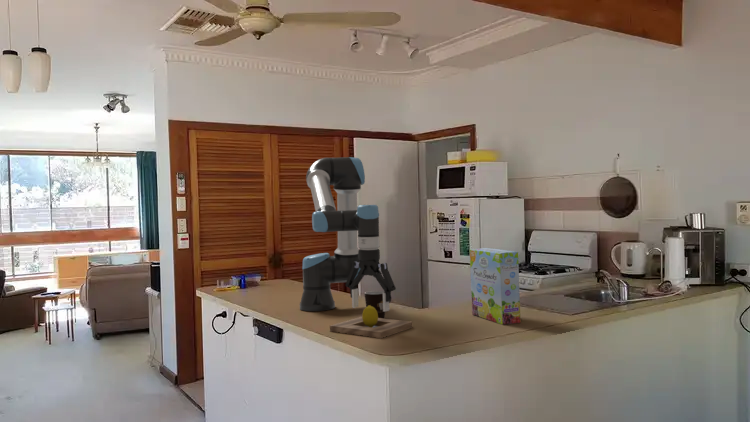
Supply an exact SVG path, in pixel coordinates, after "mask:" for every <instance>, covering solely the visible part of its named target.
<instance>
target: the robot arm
mask: <svg viewBox="0 0 750 422" xmlns="http://www.w3.org/2000/svg"><path fill="white" fill-rule="evenodd" d="M363 164H364V163H363V161H362V160H361V159H360V158H359V157H351V156H349V157H323V158H322V157H321V158H320V159H317V160H316V161H314V162H313V163H312V164H311V165H310V166H309V167H308V169H307V171H306V176H305V180H306V184H307V187H308V188H309V189H310V191H311V196H312V201H313V204H314V210H315V211H313V212H312V215H311V224H312V230H313V232H315V233H331V232H337V248H336V249H335V250H334V253H333V255H330V253H328V252H323V253H322V252H321V253H315V254H311V255H307V256H305V257H304V258H303V259H302V268H301V269H302V285H303V286H302V288H303V290H302V291H303V292H302V295H301V300H300V302H299V310H301V311H305V312H321V311H329V310H332V309H335V308H336V302H335V300H334V296H333V294H332V290H331V284H336V283H337V284H338V283H345V287H346V288H349V290H350V291H349V292H350V293H349V295H350V298H351V307H352V308H353V309H355V308H359V305H360V303H359V288H358V286H359V284H360V282H361V281H362V280H363V278H364V276H371V277H374V278H375V280H376V281H377V282H378V284H379V285H380V287H381V288H382V291H384V292H383V312H385V313H386V312H389V311H390V303H389V301H391V302H392V295H391V293H392V291H395V290H396V286H395V283H394V280H393V279H392V276H391V274H390V270H389V268H388V263H387V262H383V263H380V258H381V250H380V249H379V248H380V226H379V225H380V221H379V220H380V217H379V216H380V213H379V212H380V211H379V206H378V205H377V204H359V205H358V192H359V191H361V189H362V186H363V185H365V182H366V178H365V177H366V175H365V169H364V165H363ZM331 186H333V190H334V191H335V192H336V194H337V195H336V197H337V199H336V201H337V203H336V204H337V205H336V204H335V201H334V197H333V194H332V190H331ZM336 206H337V208H336Z"/></svg>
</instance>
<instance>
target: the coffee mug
mask: <svg viewBox="0 0 750 422" xmlns="http://www.w3.org/2000/svg"><path fill="white" fill-rule="evenodd" d="M383 292H384V290H370V291H365V292H364V293H363V294H364V299H365V306H366V307H368V305H370V306H372V307H374V308H375V309H376V311H377V313H378V318H384V319H386V317H385V315H386V312H383ZM391 302H392V300H391V301H389V304H390V303H391ZM366 307H365V308H366Z"/></svg>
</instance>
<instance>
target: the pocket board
mask: <svg viewBox="0 0 750 422" xmlns="http://www.w3.org/2000/svg"><path fill="white" fill-rule="evenodd" d="M412 328H413V321H410V320H409V321H408V320H400V319H399V320H398V319H393V318H391V319H390V318H385V319H384V318H378V321H377V323H376V324H375V325H374V326H373V327H369V326H367V325H365V324H364V322H363V319H362V316H358V317H356V318H351V319H348V320H344V321H342V322H337V323H334V324H331V325H329V332H333V333H338V332H340V334H345V333H347V334H348V335H353V334H354V336H360V335H363V336H362V337H367V336H369V337H368V338H374V337H376V338H375V339H384V338H387V337H389V336H393V335H394V334H398V333H401V332H404V331H407V330H409V329H412ZM386 336H387V337H386ZM383 337H384V338H383Z"/></svg>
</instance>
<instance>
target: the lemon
mask: <svg viewBox="0 0 750 422" xmlns="http://www.w3.org/2000/svg"><path fill="white" fill-rule="evenodd" d="M361 317H362V319H363V322H364V324H365V325H367V326H369V327H373V326H374V325H375V324H376V323H377V321H378V313H377V311H376V309H375V308H374V307H372V306H370V305H368V307H365V308H364V309H363V311H362V315H361Z"/></svg>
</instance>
